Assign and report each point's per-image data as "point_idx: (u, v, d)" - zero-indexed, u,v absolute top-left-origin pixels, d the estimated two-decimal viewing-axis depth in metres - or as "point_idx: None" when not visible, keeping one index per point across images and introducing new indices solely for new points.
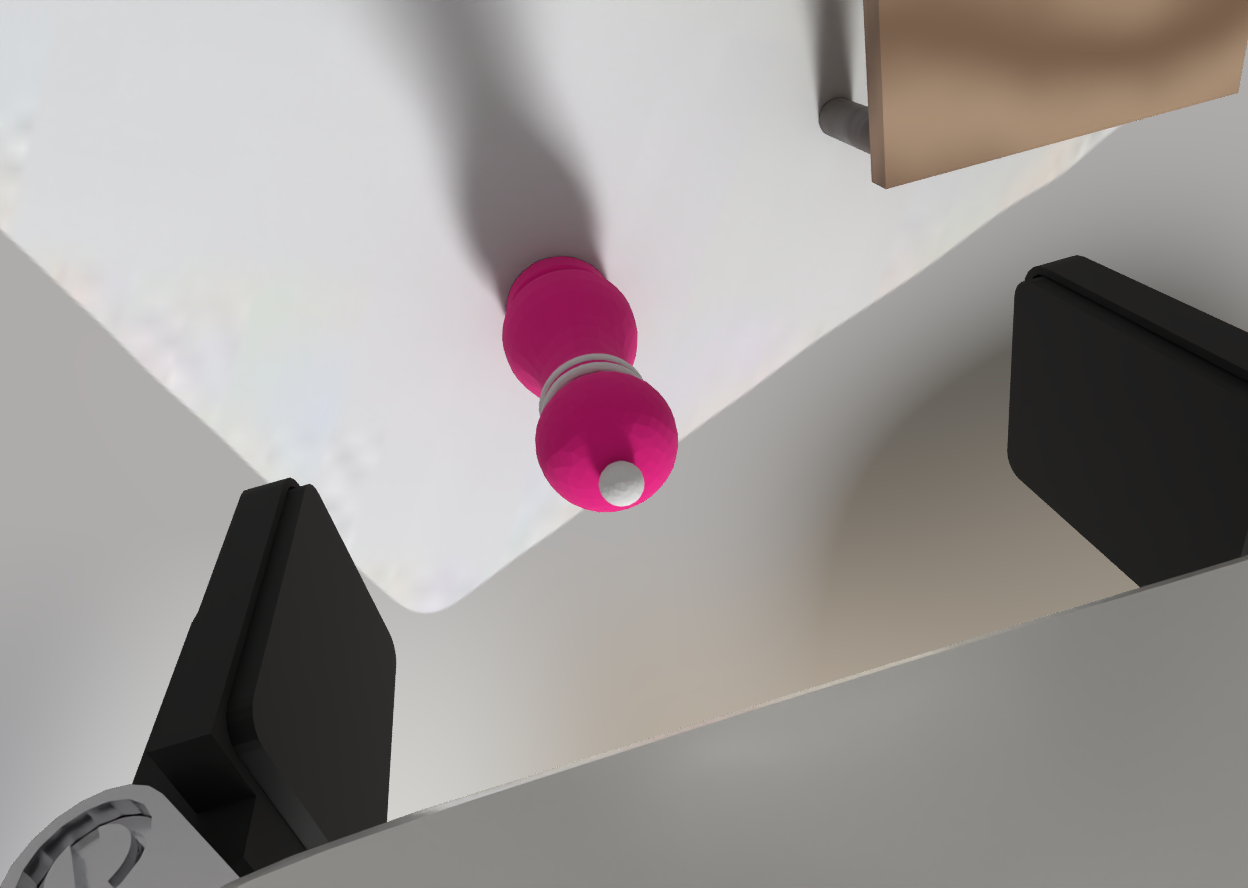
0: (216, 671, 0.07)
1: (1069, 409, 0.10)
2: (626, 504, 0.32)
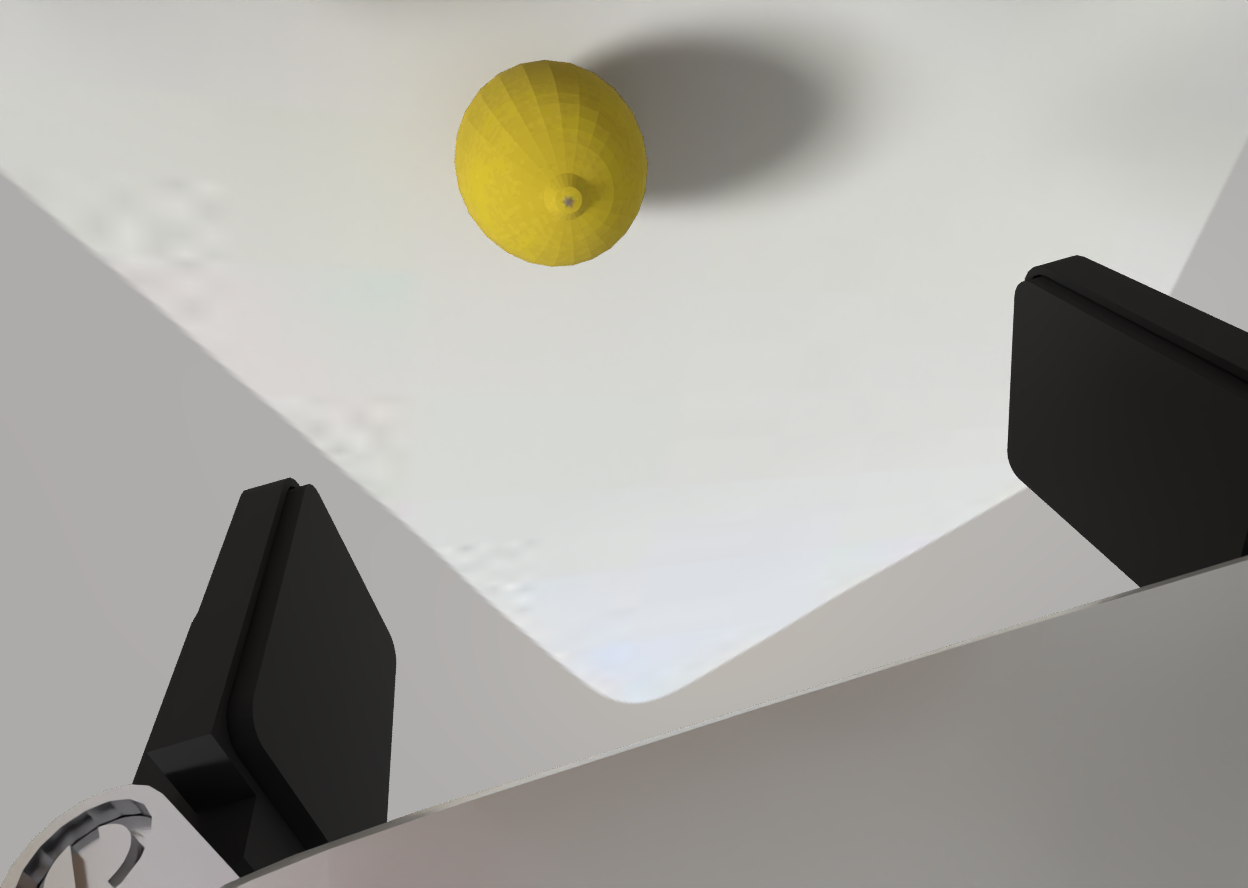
0: (216, 671, 0.07)
1: (1069, 409, 0.10)
2: None
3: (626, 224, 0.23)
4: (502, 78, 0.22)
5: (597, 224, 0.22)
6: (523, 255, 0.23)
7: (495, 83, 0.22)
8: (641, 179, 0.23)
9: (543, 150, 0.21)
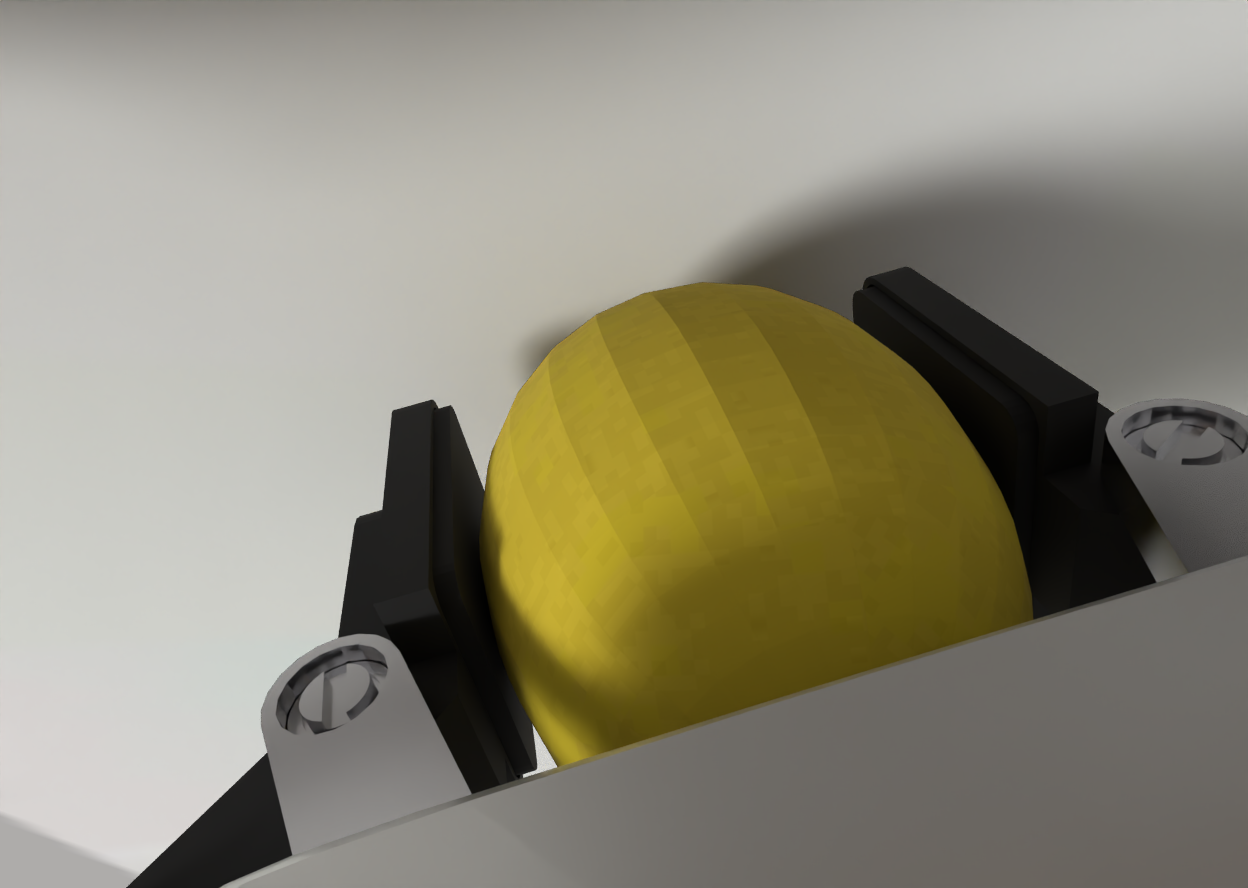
0: (417, 543, 0.08)
1: None
2: None
3: None
4: (625, 375, 0.08)
5: None
6: None
7: (604, 388, 0.08)
8: None
9: None
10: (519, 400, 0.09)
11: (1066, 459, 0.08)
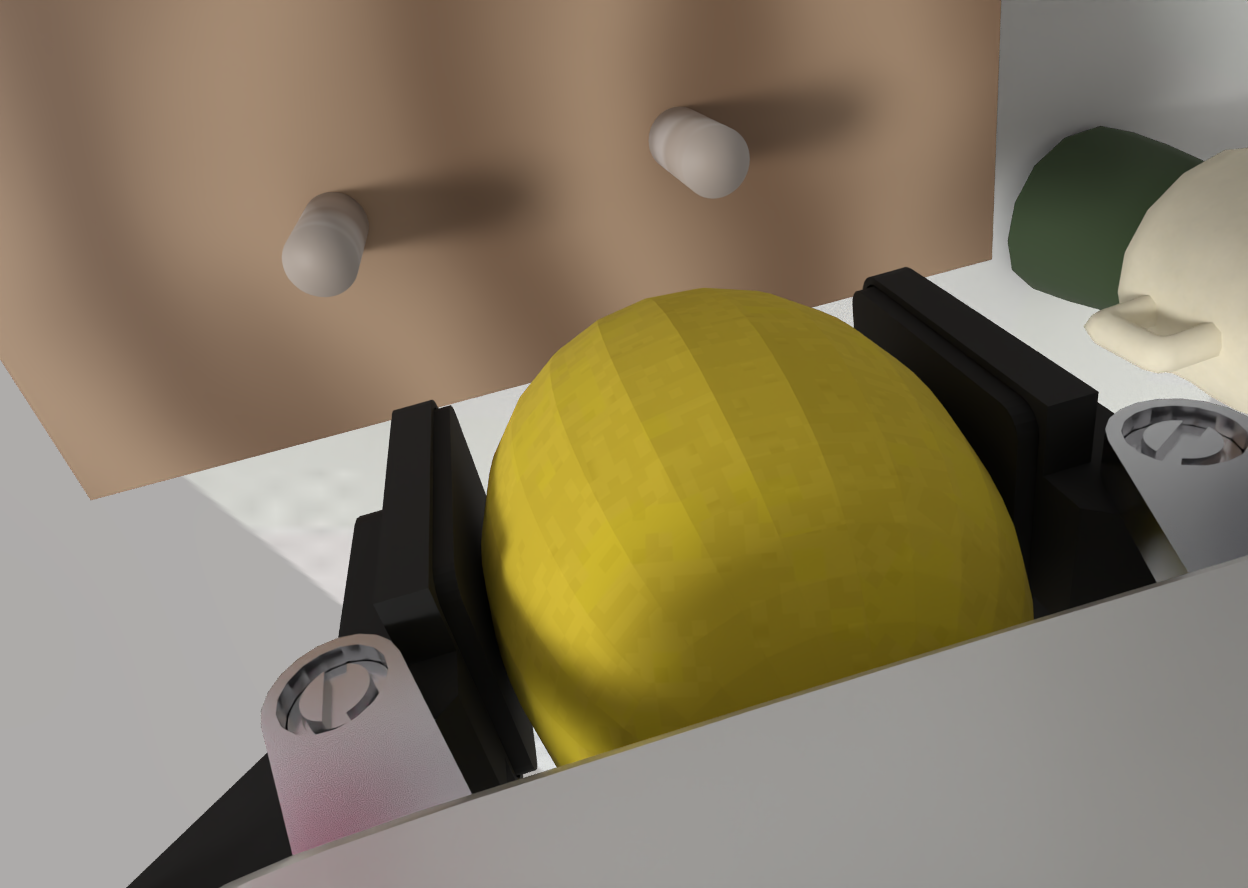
0: (417, 544, 0.08)
1: None
2: None
3: None
4: (627, 381, 0.08)
5: None
6: None
7: (606, 394, 0.08)
8: None
9: None
10: (521, 405, 0.09)
11: (1066, 459, 0.08)
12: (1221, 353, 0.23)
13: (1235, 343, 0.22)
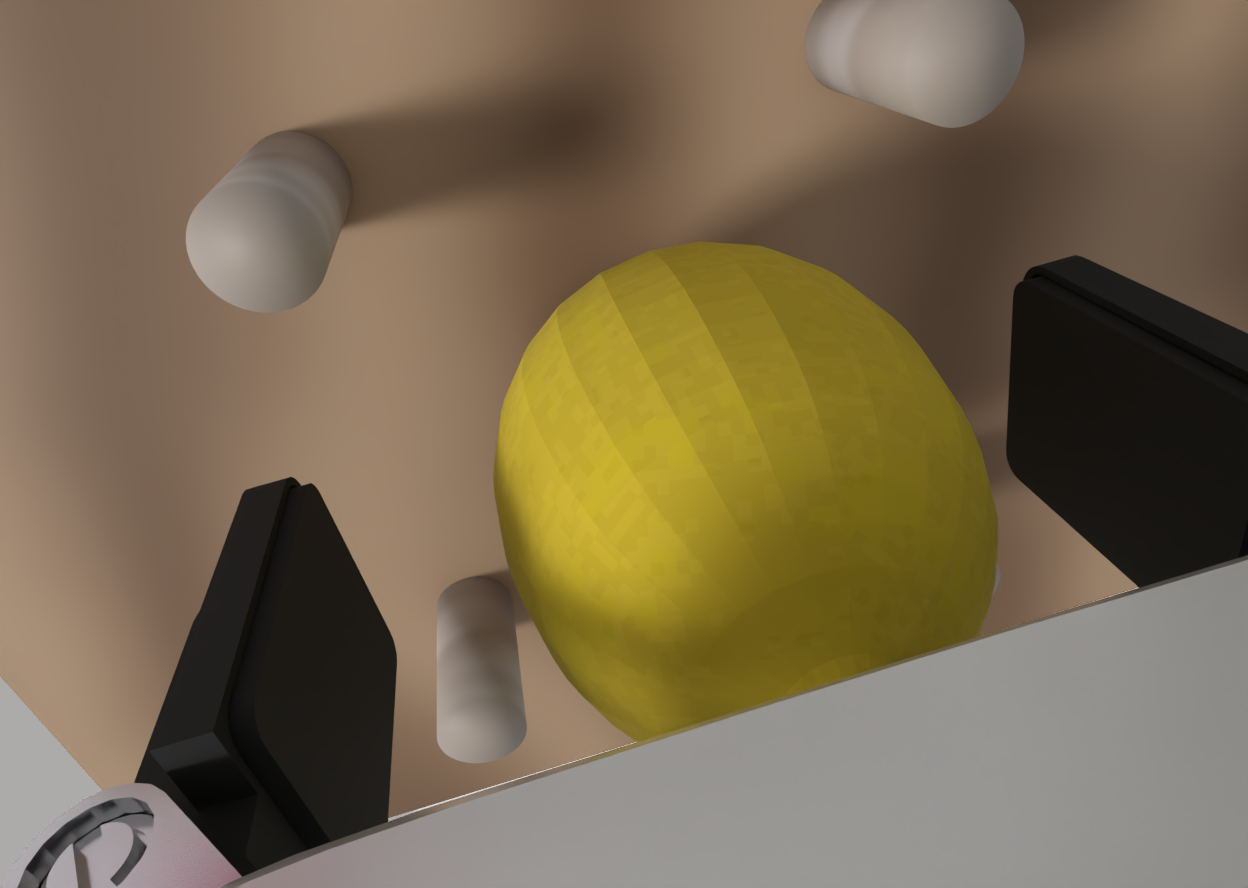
0: (218, 669, 0.07)
1: (1068, 409, 0.10)
2: None
3: None
4: (628, 318, 0.08)
5: None
6: None
7: (608, 330, 0.08)
8: None
9: (784, 593, 0.07)
10: (530, 349, 0.10)
11: None
12: None
13: None
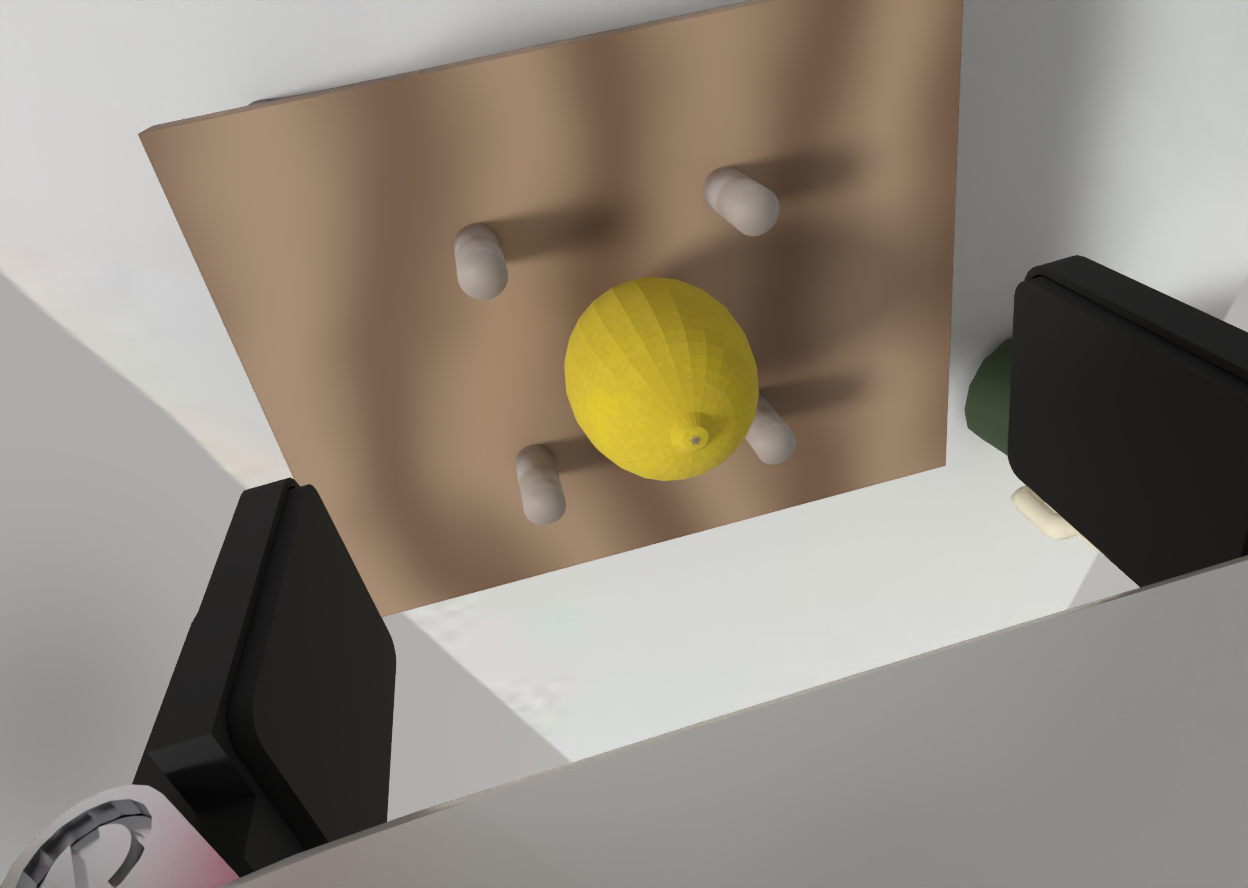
0: (216, 671, 0.07)
1: (1069, 409, 0.10)
2: None
3: None
4: (623, 304, 0.23)
5: (717, 453, 0.22)
6: (636, 473, 0.23)
7: (615, 308, 0.23)
8: (756, 404, 0.23)
9: (671, 390, 0.21)
10: (581, 318, 0.24)
11: None
12: None
13: None
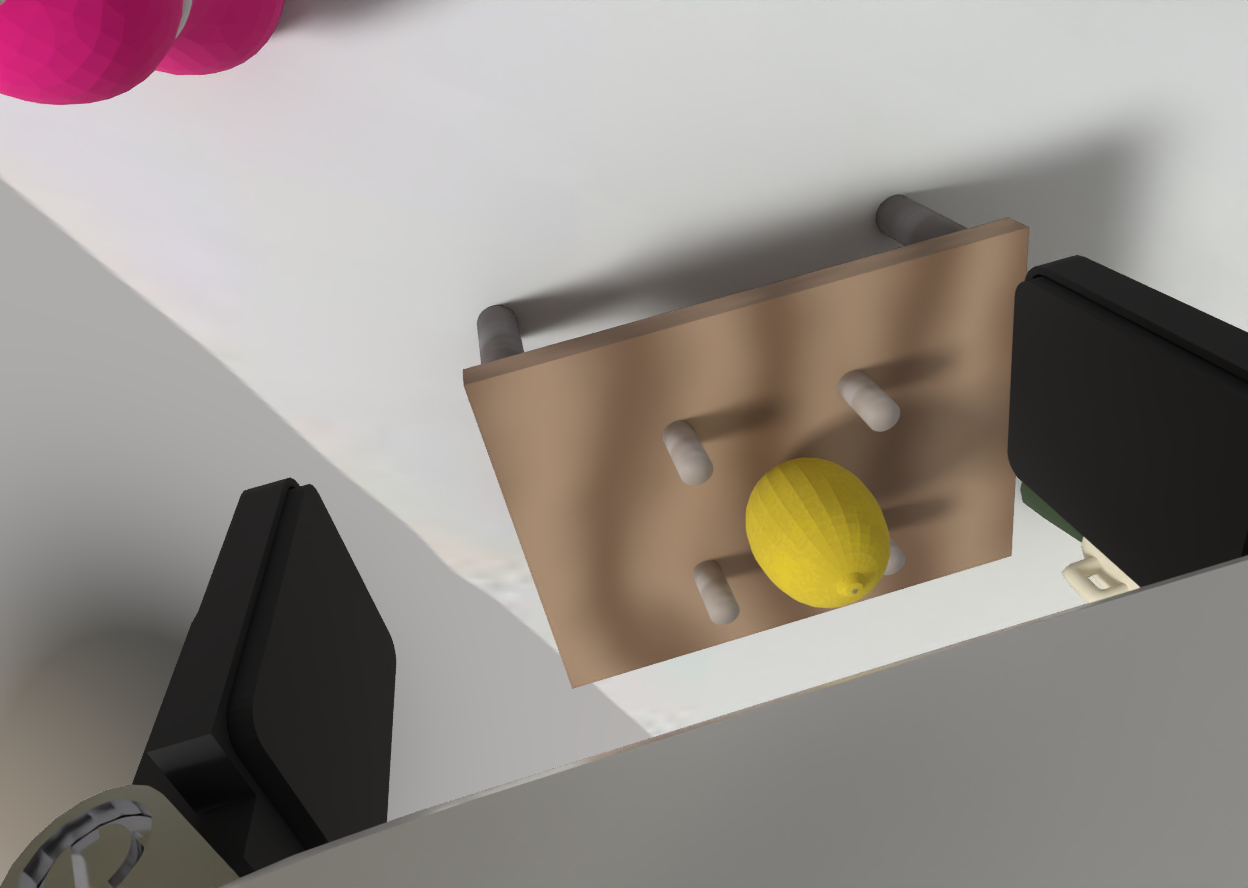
0: (216, 671, 0.07)
1: (1069, 409, 0.10)
2: None
3: None
4: (796, 490, 0.33)
5: (865, 594, 0.33)
6: None
7: (790, 493, 0.33)
8: (889, 555, 0.33)
9: (838, 558, 0.31)
10: (760, 492, 0.34)
11: None
12: None
13: None
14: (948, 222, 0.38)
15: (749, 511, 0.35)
